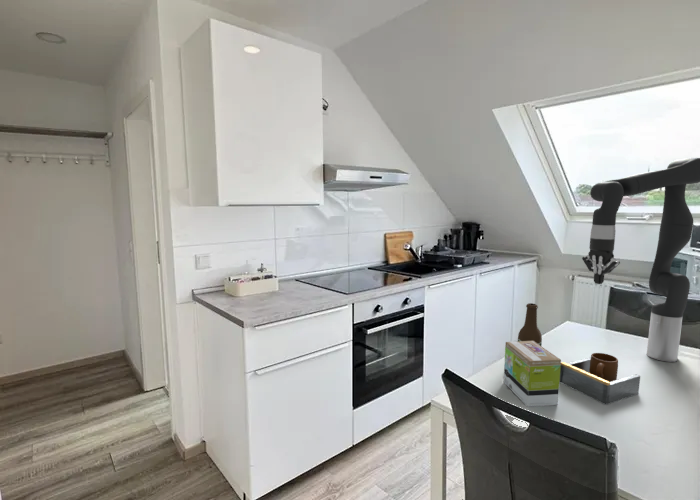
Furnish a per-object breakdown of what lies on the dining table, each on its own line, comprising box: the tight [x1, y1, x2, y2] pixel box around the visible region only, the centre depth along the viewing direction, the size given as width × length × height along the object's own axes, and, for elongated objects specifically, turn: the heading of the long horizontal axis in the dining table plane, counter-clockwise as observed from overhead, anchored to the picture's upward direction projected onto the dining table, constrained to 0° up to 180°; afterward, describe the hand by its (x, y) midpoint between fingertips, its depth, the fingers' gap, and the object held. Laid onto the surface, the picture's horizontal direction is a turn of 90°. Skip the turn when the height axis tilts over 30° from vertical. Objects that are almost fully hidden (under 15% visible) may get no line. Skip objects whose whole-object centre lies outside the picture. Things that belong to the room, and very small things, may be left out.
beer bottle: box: [517, 303, 543, 346], centre depth 135 cm, size 8×8×24 cm
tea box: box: [503, 340, 562, 407], centre depth 118 cm, size 15×10×15 cm
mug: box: [589, 352, 619, 382], centre depth 123 cm, size 12×8×9 cm, turn 137°
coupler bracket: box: [559, 356, 641, 405], centre depth 123 cm, size 16×15×7 cm
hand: (598, 283), depth 141 cm, fingers closed
